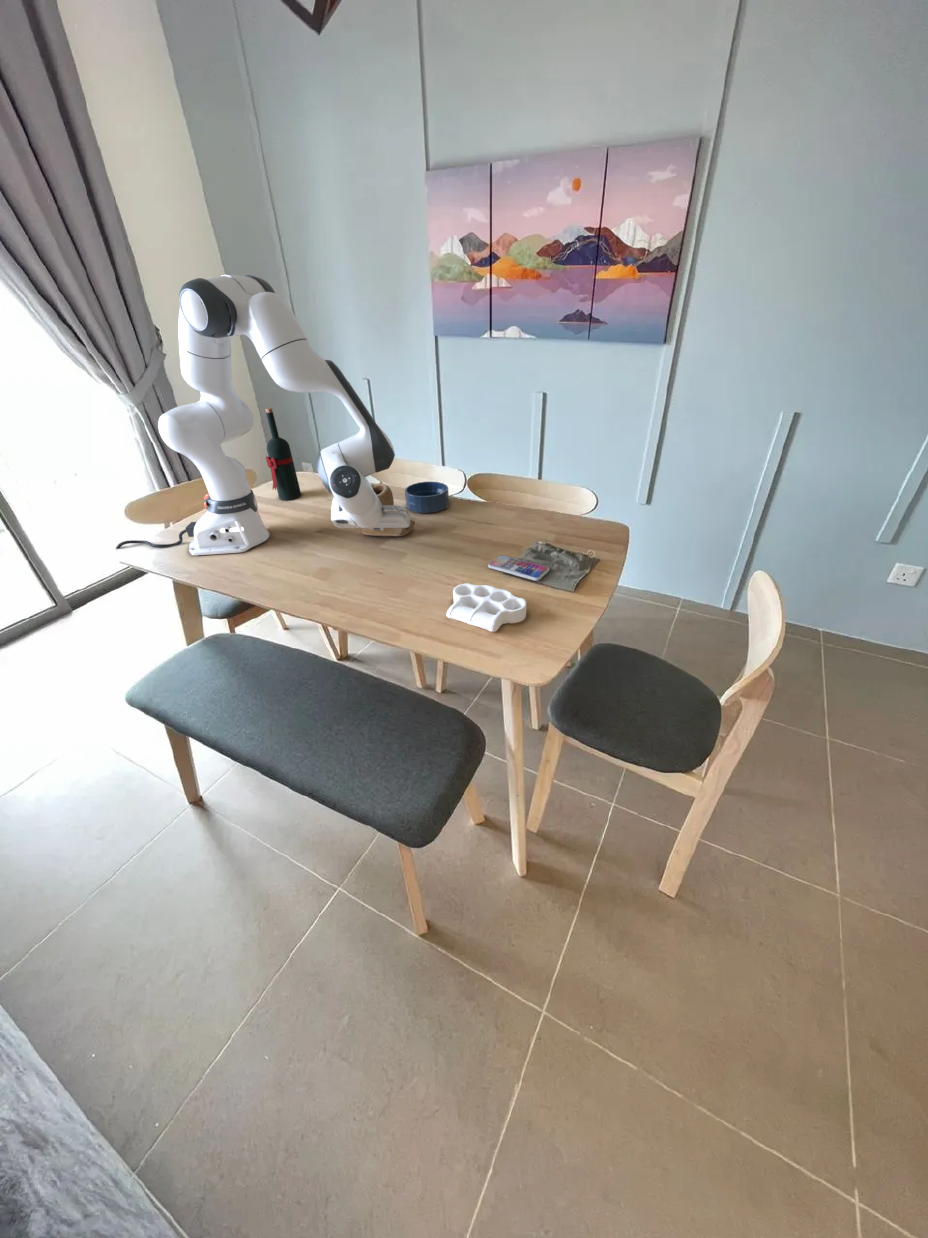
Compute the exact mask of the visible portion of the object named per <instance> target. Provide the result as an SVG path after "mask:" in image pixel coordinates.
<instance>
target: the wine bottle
mask: <svg viewBox="0 0 928 1238" xmlns="http://www.w3.org/2000/svg"><path fill="white" fill-rule="evenodd" d="M264 411H265V415H266V418H267V422H268V426H269V430H270V434H271V438H270V439H269V440H268V442H267V444H266V453H267V456H265V461H266V465H267V467H268V469H270V473H271V480H272V490H275V491H276V492H277V495H278V500H281V501H283V502H284V501H289V502H290V501H294V500H297V499H300V498H301V497H302V492H301V488H300V484H299V480H298V476H297V475H298V474H297V472H296V467H295V462H294V459H293V455H292V450H291V446H290V443H289V442H288V441H287V440H286V439H284V438H283V437H280V435H279V431H278V427H277V423H276V419H275V415H274V414H275V413H274V411H273V407H266V408H264Z"/></svg>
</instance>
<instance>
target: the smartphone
mask: <svg viewBox="0 0 928 1238" xmlns="http://www.w3.org/2000/svg"><path fill="white" fill-rule="evenodd" d="M543 566H544V565H542V566H541V564H537V563H534V562H530V561H527V560H522V559H519V558H515V557H512V556H507V555H503V554H501V555H498V556H496V557H495V558H493V560H492V561H490V562H489V563H488V564H487V567H488V568H489V569H492V570H495V571H499V572H501V573H506V574H510V575H514V576H516V577H520V578H524V579H528V580H530V581H531V580H532V581H533V582H534V581H535V582H538V581H540V580H542V579H543V577H545V576H546V575H547V574H548V573H549V572H550V568H549V569H548V570H547V568H546V569H544V568H545V567H543ZM546 570H547V571H546Z"/></svg>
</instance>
